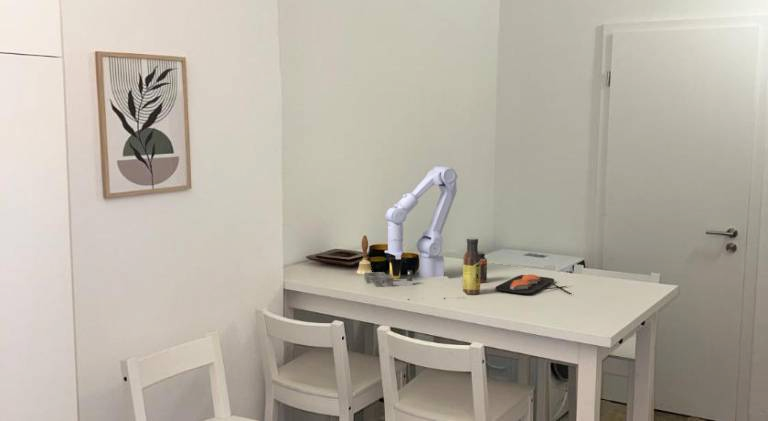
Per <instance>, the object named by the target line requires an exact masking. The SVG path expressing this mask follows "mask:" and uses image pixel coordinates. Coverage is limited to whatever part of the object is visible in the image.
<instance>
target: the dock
mask: <svg viewBox="0 0 768 421" xmlns="http://www.w3.org/2000/svg"><path fill="white" fill-rule="evenodd" d="M363 279H364V281H365V282H366V283H367V284H373V285H374V287H375V288H382V287H383V284H384V285H385V287H387V288H388V287H390V288H391V287H394V285H393V280H394V279H393V278H392V276H390V275H387V274H386V272H384V271H382V272H381V271H378V272H377V271H376V272H375V271H373V273H365V274H364V278H363Z"/></svg>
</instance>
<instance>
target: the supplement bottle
mask: <svg viewBox="0 0 768 421" xmlns="http://www.w3.org/2000/svg"><path fill="white" fill-rule="evenodd" d="M478 254H479V257H480V260H481V271H480V272H481V273H480V284H484V283H487V279H488V278H487V277H488V259H487V258H486V257H485V252H483V251H478Z"/></svg>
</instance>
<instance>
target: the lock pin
mask: <svg viewBox="0 0 768 421" xmlns="http://www.w3.org/2000/svg"><path fill="white" fill-rule="evenodd" d="M406 274H407V275H406V276H407V277H406V279H393V286H413V284H414V283H413V282H414V281H413V270H407V273H406Z"/></svg>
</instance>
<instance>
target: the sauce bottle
mask: <svg viewBox="0 0 768 421" xmlns="http://www.w3.org/2000/svg"><path fill="white" fill-rule="evenodd" d="M478 243H479V238H477V237H467V238H466V244H467V245H466V252H465V253H464V255H463V264H462V292H463V293H464V294H466V295H472V296H473V295H479V294H480V293H481V292H480V290H481V283H480V273H481V272H480V271H481V260H480V257H479V254H478V252H479V251H478V246H479V244H478Z"/></svg>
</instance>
